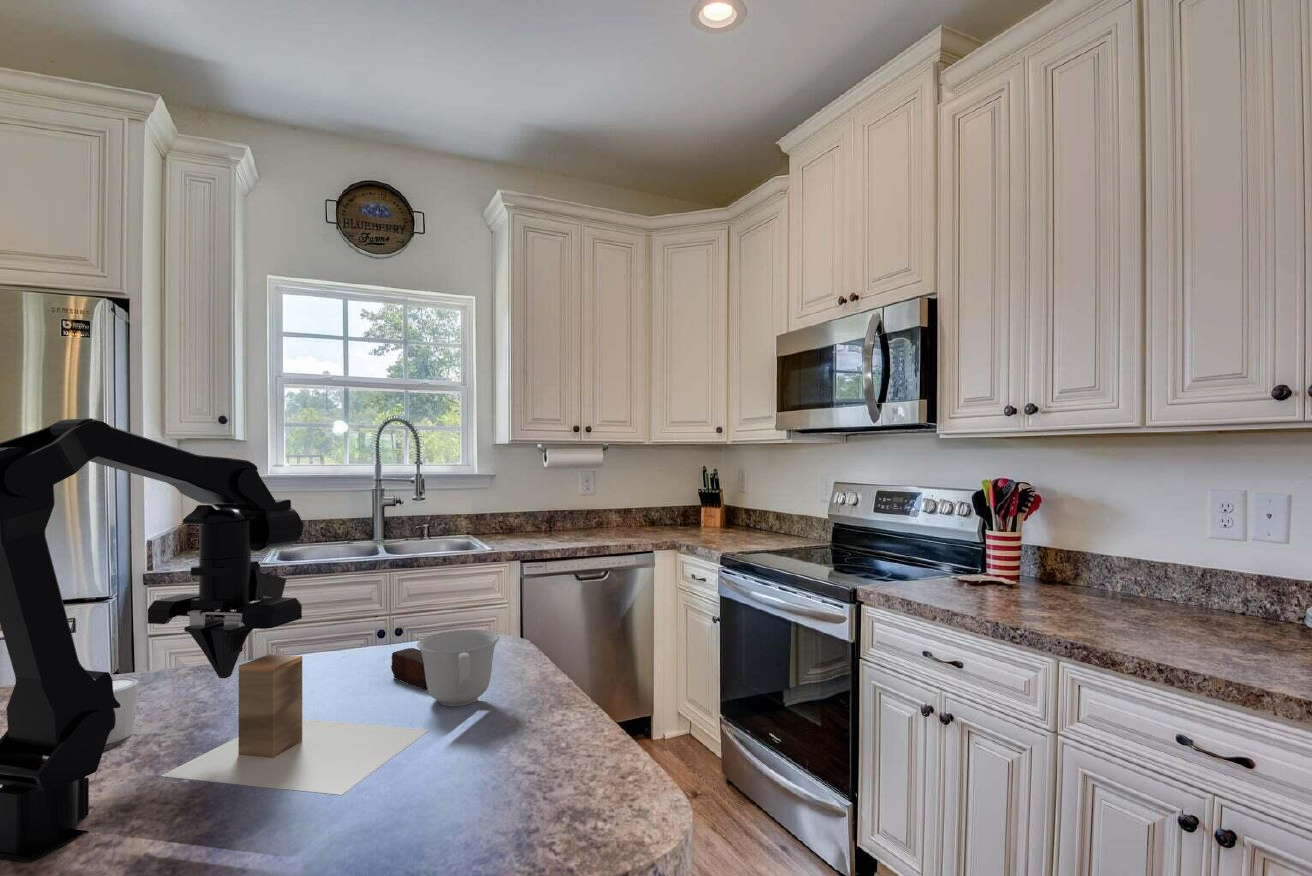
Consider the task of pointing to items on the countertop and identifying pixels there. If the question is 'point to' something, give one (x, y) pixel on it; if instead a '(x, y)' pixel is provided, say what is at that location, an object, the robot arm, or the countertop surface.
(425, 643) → the teacup
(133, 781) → the countertop surface
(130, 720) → the white tapered cup
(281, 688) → the walnut block
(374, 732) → the cutting board
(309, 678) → the countertop surface
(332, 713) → the countertop surface
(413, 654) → the brick
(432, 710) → the countertop surface
